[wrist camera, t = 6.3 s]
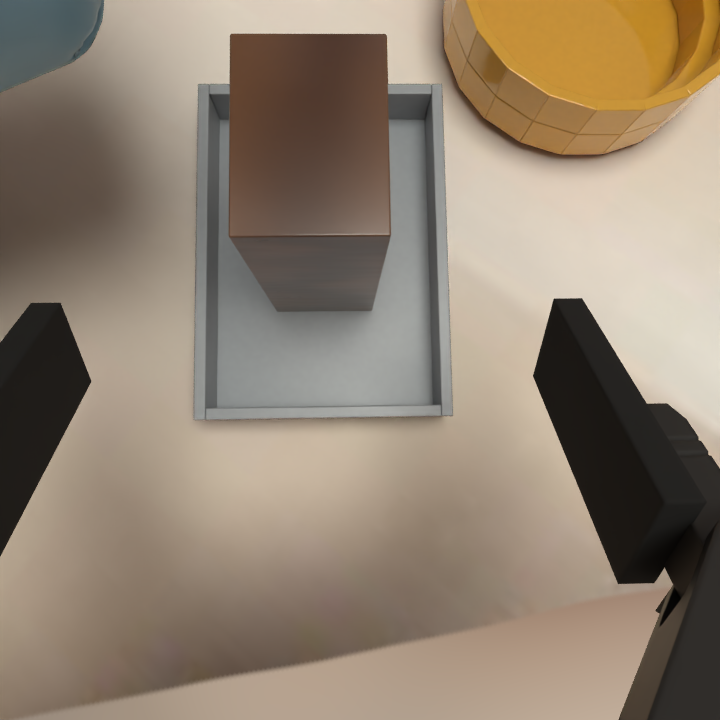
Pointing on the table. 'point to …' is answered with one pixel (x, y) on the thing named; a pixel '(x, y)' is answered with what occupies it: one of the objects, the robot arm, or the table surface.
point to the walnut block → (310, 166)
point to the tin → (328, 328)
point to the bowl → (582, 66)
